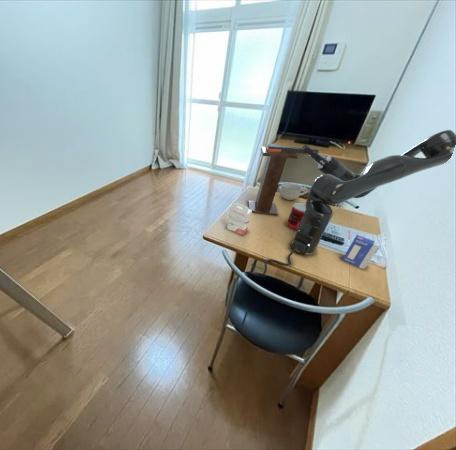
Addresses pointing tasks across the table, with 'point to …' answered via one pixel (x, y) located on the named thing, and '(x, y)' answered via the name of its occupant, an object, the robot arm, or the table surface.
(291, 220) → the canned food
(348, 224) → the table surface
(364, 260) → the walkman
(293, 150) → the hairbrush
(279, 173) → the walnut stand
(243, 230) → the ink cartridge box
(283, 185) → the teacup
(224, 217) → the table surface
